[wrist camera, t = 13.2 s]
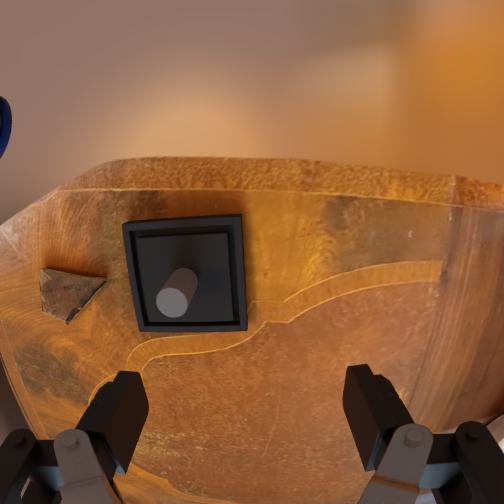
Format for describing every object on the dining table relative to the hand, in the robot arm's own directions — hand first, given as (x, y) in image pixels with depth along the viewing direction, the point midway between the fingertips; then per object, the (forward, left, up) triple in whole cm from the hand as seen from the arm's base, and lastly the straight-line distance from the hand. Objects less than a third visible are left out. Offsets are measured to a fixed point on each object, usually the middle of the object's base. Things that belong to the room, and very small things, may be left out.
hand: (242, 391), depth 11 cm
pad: (+3, -7, -23) cm, 25 cm away
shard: (+4, -24, -24) cm, 34 cm away
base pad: (+3, -7, -24) cm, 25 cm away
